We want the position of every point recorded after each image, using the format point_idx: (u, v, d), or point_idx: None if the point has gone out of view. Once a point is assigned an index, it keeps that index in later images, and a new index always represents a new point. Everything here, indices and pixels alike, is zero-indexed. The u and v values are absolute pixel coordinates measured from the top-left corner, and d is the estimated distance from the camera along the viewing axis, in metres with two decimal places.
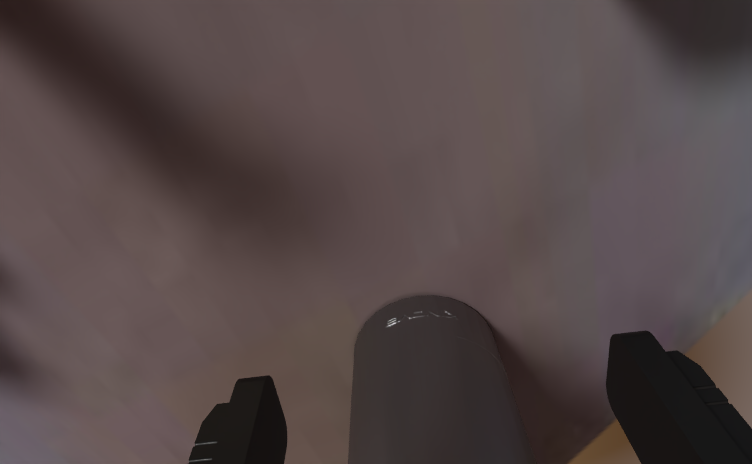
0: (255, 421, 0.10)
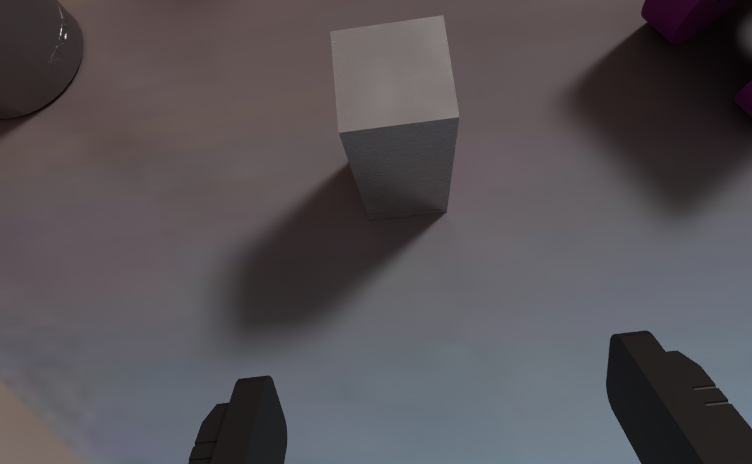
0: (255, 421, 0.10)
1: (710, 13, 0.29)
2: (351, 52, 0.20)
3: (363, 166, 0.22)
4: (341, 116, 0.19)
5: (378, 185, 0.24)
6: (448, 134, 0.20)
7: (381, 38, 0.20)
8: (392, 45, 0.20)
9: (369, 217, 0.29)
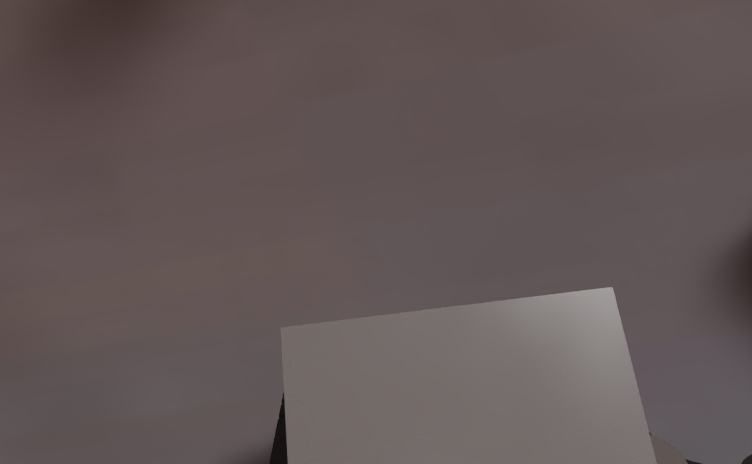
0: None
1: None
2: (342, 406, 0.07)
3: None
4: None
5: None
6: None
7: (432, 361, 0.07)
8: (466, 387, 0.07)
9: None
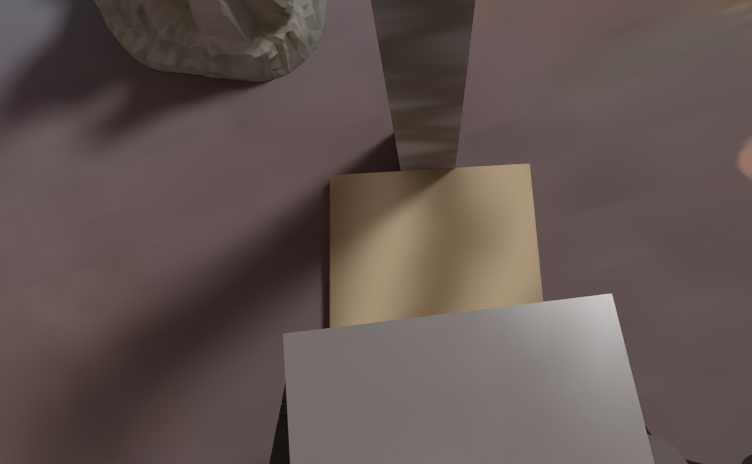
0: None
1: None
2: (344, 412, 0.07)
3: None
4: None
5: None
6: None
7: (433, 367, 0.07)
8: (466, 393, 0.07)
9: None
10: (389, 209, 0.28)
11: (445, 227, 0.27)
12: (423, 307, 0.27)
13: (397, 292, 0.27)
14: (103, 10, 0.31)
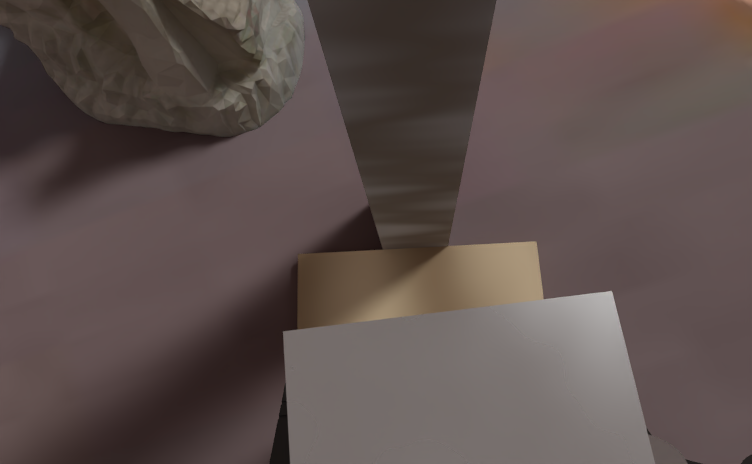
0: None
1: None
2: (344, 409, 0.07)
3: None
4: None
5: None
6: None
7: (433, 364, 0.07)
8: (466, 390, 0.07)
9: None
10: (369, 297, 0.23)
11: None
12: None
13: None
14: None
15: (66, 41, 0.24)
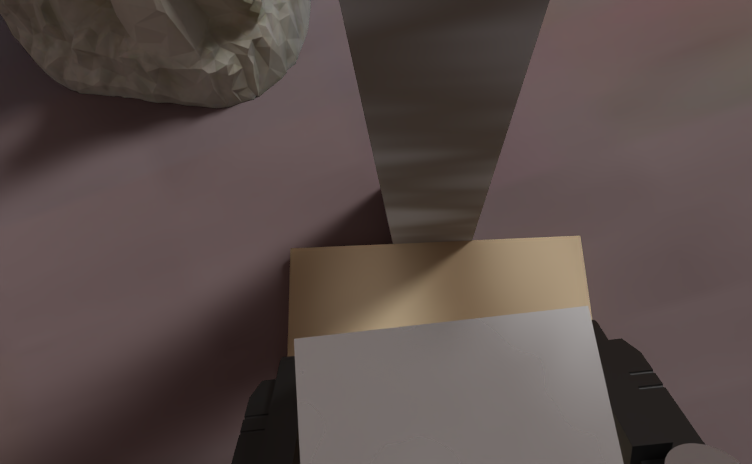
0: None
1: None
2: (348, 409, 0.08)
3: None
4: None
5: None
6: None
7: (428, 370, 0.08)
8: (457, 393, 0.07)
9: None
10: (376, 301, 0.19)
11: None
12: None
13: None
14: None
15: None
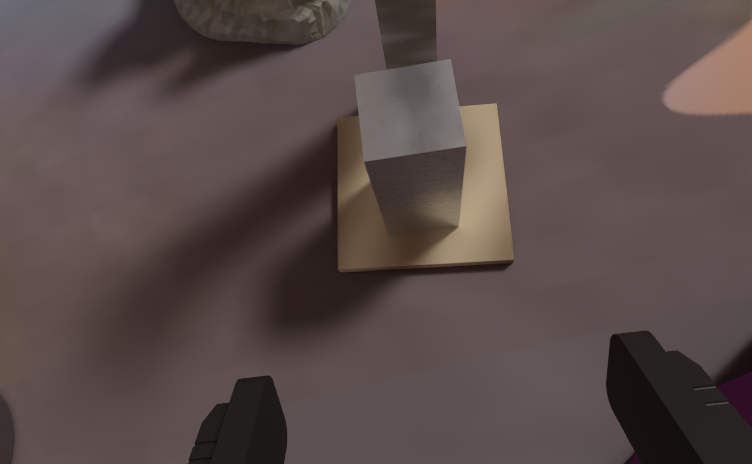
0: (255, 421, 0.10)
1: None
2: (372, 92, 0.23)
3: (384, 189, 0.26)
4: (365, 147, 0.23)
5: (397, 204, 0.28)
6: (457, 160, 0.23)
7: (398, 80, 0.24)
8: (407, 86, 0.23)
9: (389, 233, 0.32)
10: None
11: None
12: None
13: None
14: None
15: None
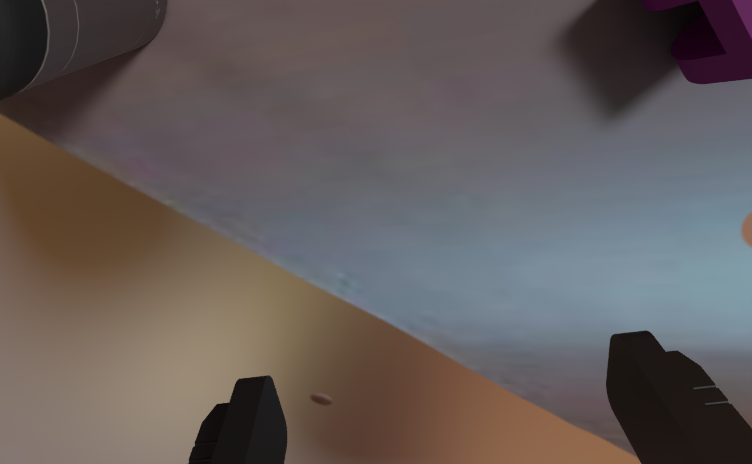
0: (255, 421, 0.10)
1: None
2: None
3: None
4: None
5: None
6: None
7: None
8: None
9: None
10: None
11: None
12: None
13: None
14: None
15: None
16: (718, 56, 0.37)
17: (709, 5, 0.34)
